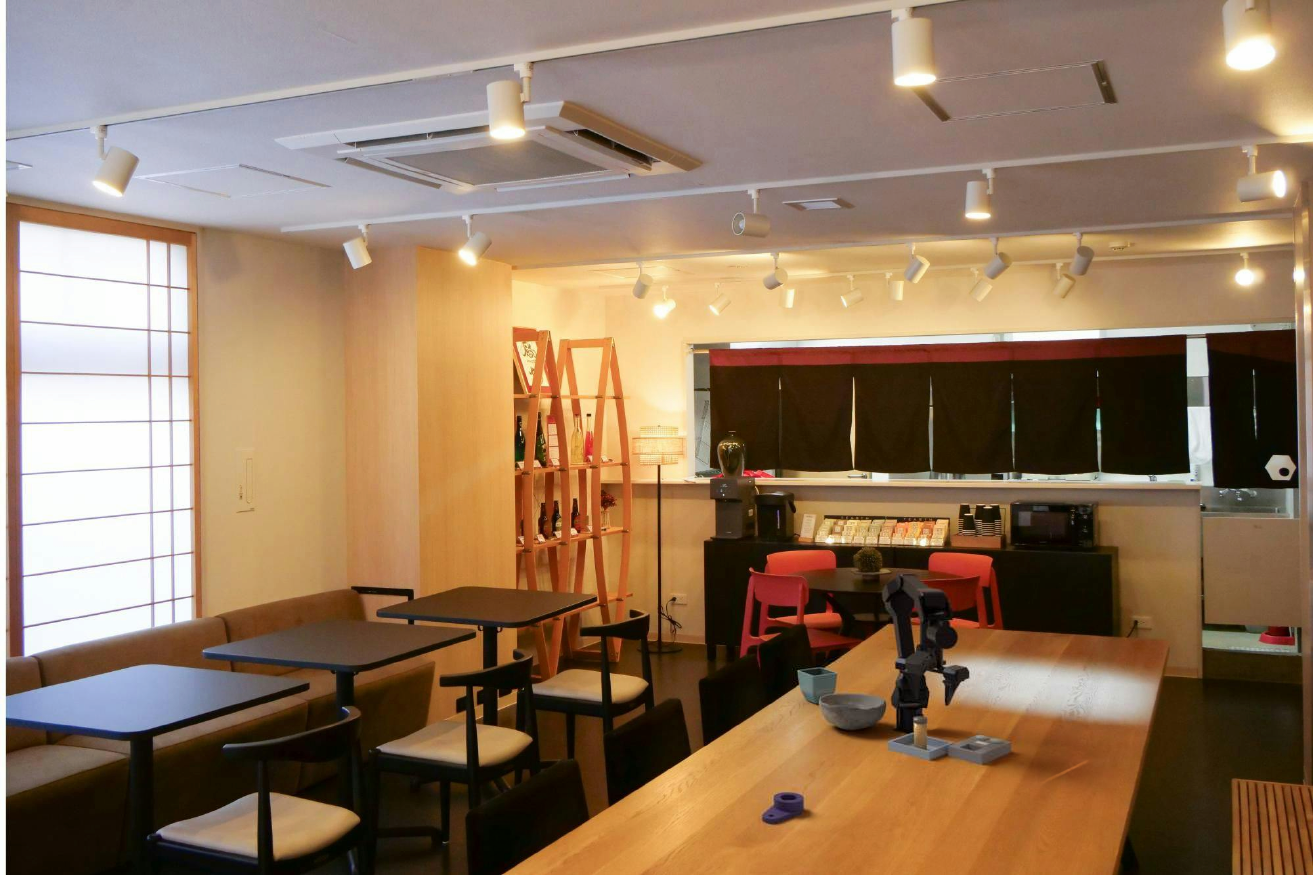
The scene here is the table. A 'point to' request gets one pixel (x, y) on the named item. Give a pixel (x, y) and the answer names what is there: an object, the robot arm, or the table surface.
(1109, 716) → the table surface
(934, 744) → the parts tray
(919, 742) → the cylinder
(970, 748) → the panel
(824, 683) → the flower pot
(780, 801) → the lever
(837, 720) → the bowl
